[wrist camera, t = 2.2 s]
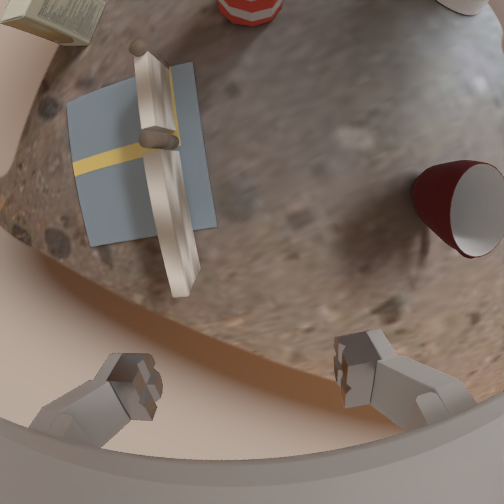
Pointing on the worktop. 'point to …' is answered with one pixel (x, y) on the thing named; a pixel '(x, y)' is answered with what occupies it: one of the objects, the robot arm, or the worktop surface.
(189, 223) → the fence panel
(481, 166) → the mug
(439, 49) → the worktop surface
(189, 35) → the worktop surface
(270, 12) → the beverage can
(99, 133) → the card
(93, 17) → the skincare box
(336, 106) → the worktop surface
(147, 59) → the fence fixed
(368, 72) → the worktop surface
